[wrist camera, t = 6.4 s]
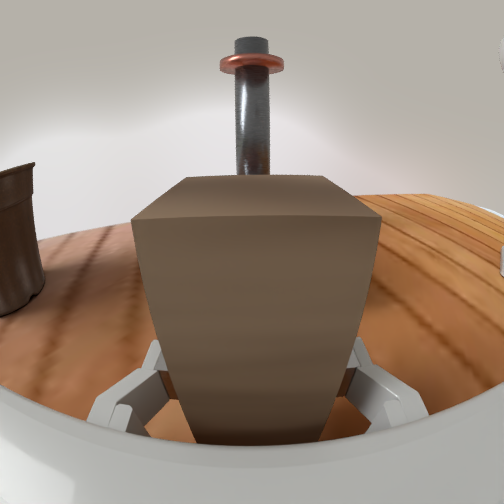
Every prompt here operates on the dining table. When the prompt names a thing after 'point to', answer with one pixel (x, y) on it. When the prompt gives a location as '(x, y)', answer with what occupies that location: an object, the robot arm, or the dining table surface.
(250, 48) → the bracket
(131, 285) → the dining table surface
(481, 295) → the dining table surface
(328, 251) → the tall wooden post
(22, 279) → the plant pot
